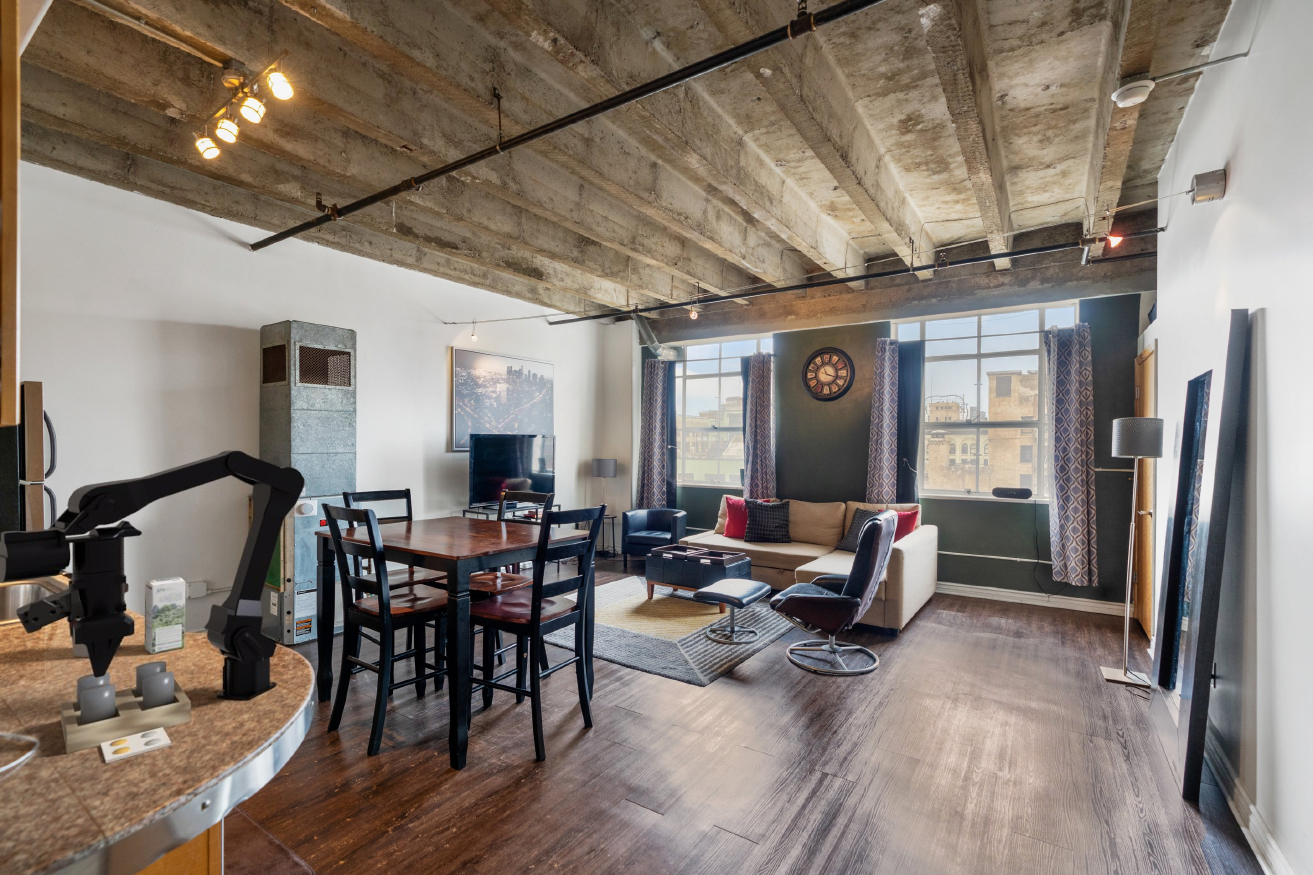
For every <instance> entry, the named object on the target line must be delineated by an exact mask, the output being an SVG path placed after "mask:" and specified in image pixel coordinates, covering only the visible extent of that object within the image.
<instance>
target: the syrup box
mask: <svg viewBox="0 0 1313 875" xmlns="http://www.w3.org/2000/svg"><path fill="white" fill-rule="evenodd" d="M144 582H145V583H144V649H145V651H146V652H148V653H150V654H152V655H153V654H160V653H164V652H169V651H170V652H171V651H173V650H178V649H183V648H185V646H186V645H185V644H186V642H185V641H186V580H184V578H182V577H180V576H174V577H165V578H159V579H152V580H146V581H144ZM181 634H185V635H181Z"/></svg>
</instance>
